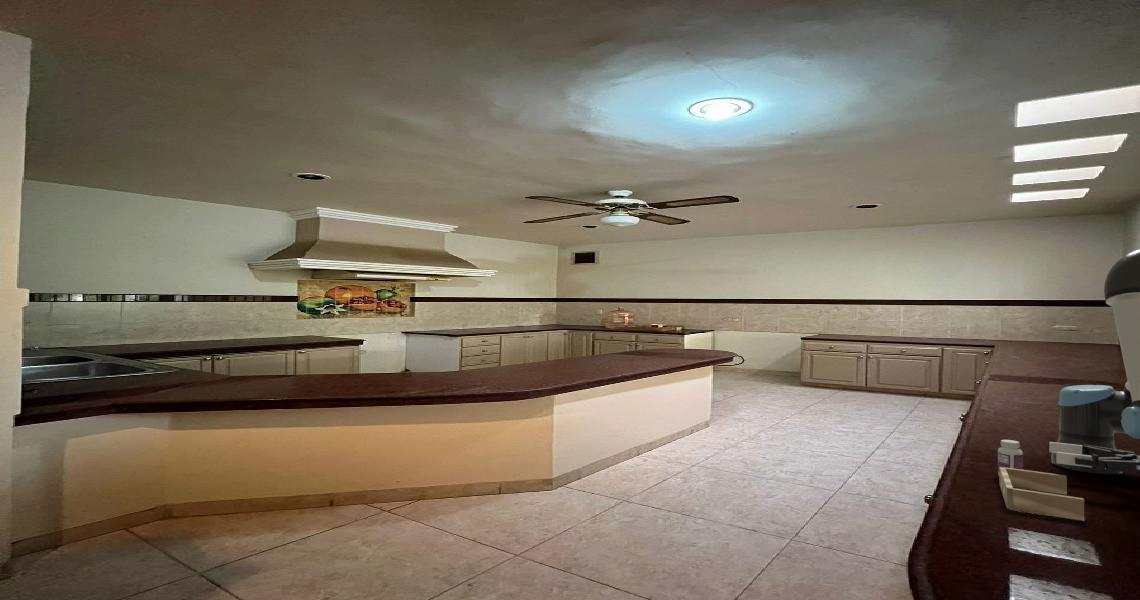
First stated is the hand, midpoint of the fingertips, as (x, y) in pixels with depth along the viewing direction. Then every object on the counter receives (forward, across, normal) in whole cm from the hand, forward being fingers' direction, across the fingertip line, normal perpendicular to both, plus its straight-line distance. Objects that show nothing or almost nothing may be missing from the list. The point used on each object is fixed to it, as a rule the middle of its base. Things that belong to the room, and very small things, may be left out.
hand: (1052, 452), depth 147 cm
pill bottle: (+9, 0, -8) cm, 12 cm away
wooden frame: (+5, -20, -8) cm, 22 cm away
